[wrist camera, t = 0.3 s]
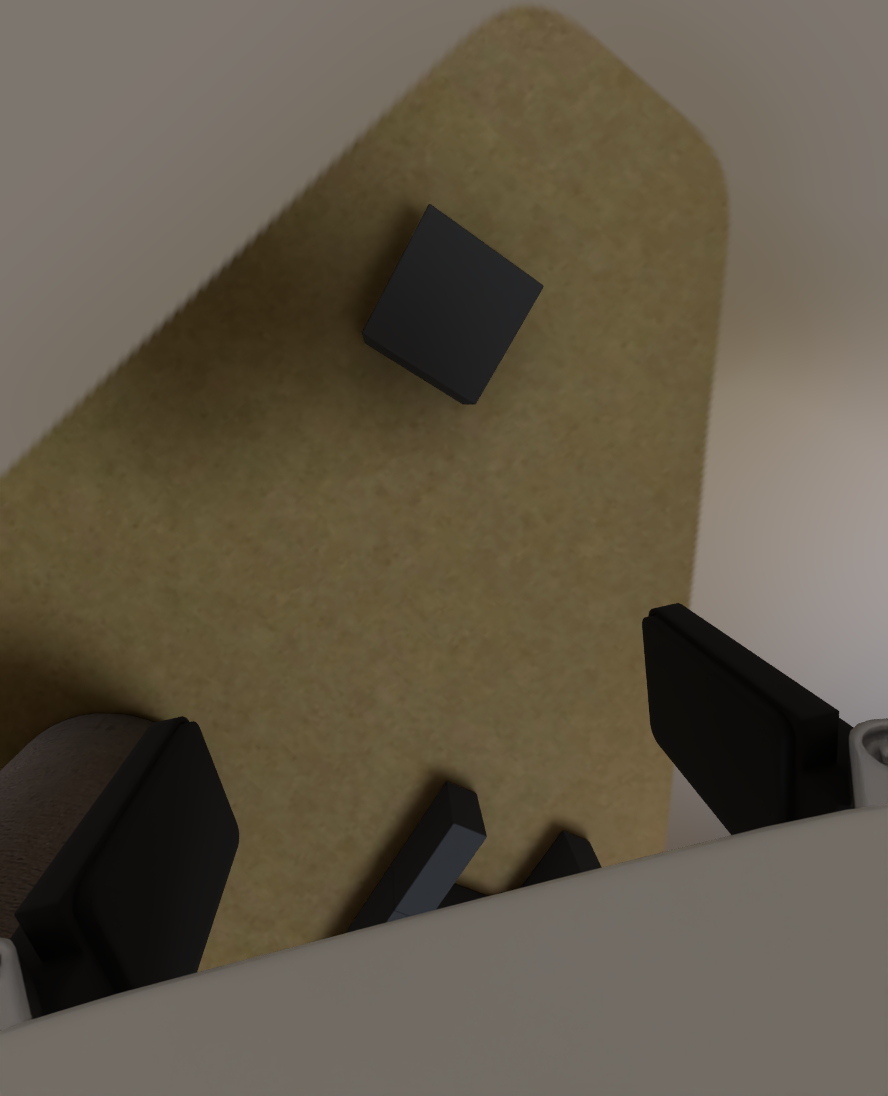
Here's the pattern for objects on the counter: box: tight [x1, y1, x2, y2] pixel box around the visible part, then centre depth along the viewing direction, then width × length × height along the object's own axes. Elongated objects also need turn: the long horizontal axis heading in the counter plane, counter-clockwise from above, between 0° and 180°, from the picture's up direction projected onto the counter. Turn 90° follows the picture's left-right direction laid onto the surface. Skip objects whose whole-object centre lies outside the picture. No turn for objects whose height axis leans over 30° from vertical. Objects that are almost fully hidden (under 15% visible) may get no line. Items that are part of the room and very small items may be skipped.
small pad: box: [362, 204, 543, 404], centre depth 20 cm, size 5×5×3 cm
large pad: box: [346, 782, 602, 933], centre depth 29 cm, size 14×10×3 cm
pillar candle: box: [0, 713, 154, 939], centre depth 19 cm, size 10×10×15 cm
